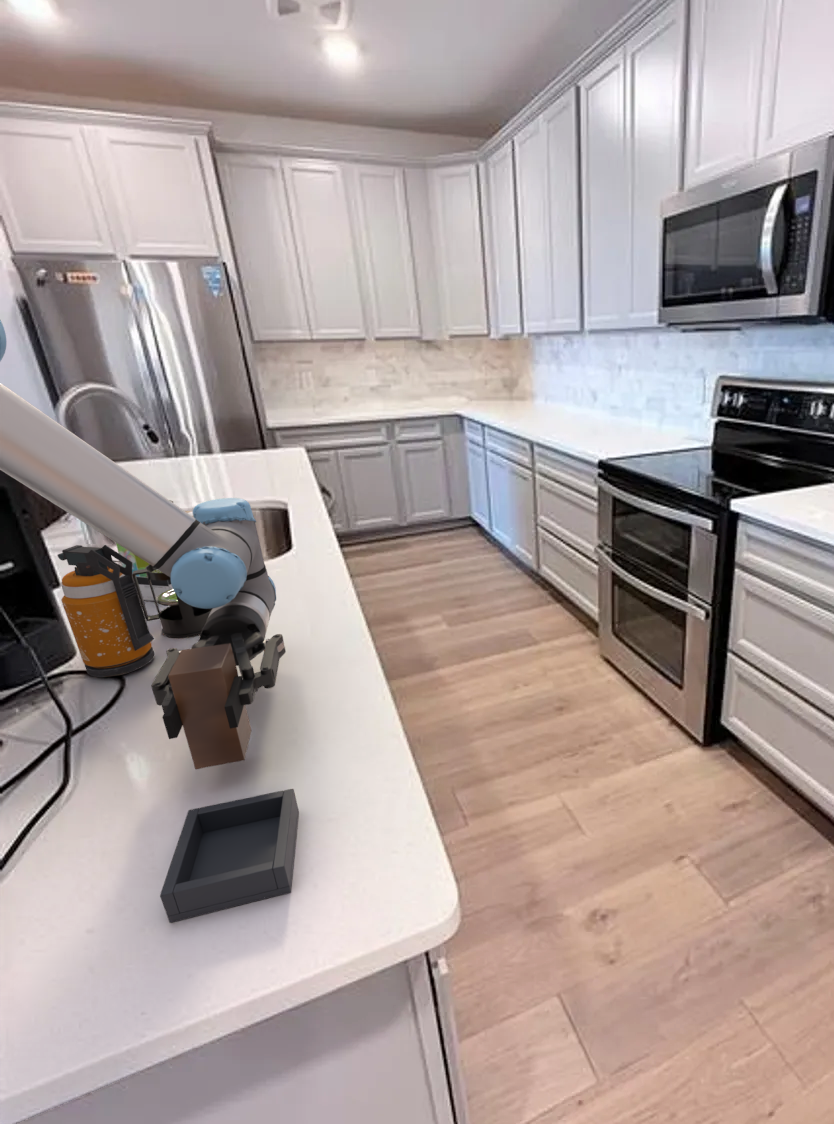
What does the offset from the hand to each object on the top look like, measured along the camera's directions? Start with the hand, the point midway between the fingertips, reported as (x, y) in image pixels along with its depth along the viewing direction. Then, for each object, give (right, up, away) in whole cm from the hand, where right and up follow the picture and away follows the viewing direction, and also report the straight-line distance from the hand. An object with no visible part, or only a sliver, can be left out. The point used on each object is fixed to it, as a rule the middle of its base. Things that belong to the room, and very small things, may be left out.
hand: (201, 722), depth 64 cm
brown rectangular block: (-2, -5, +7) cm, 9 cm away
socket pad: (+6, -13, -4) cm, 15 cm away
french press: (-29, +7, +46) cm, 55 cm away
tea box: (-42, +14, +64) cm, 78 cm away
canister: (-31, +1, +33) cm, 45 cm away
